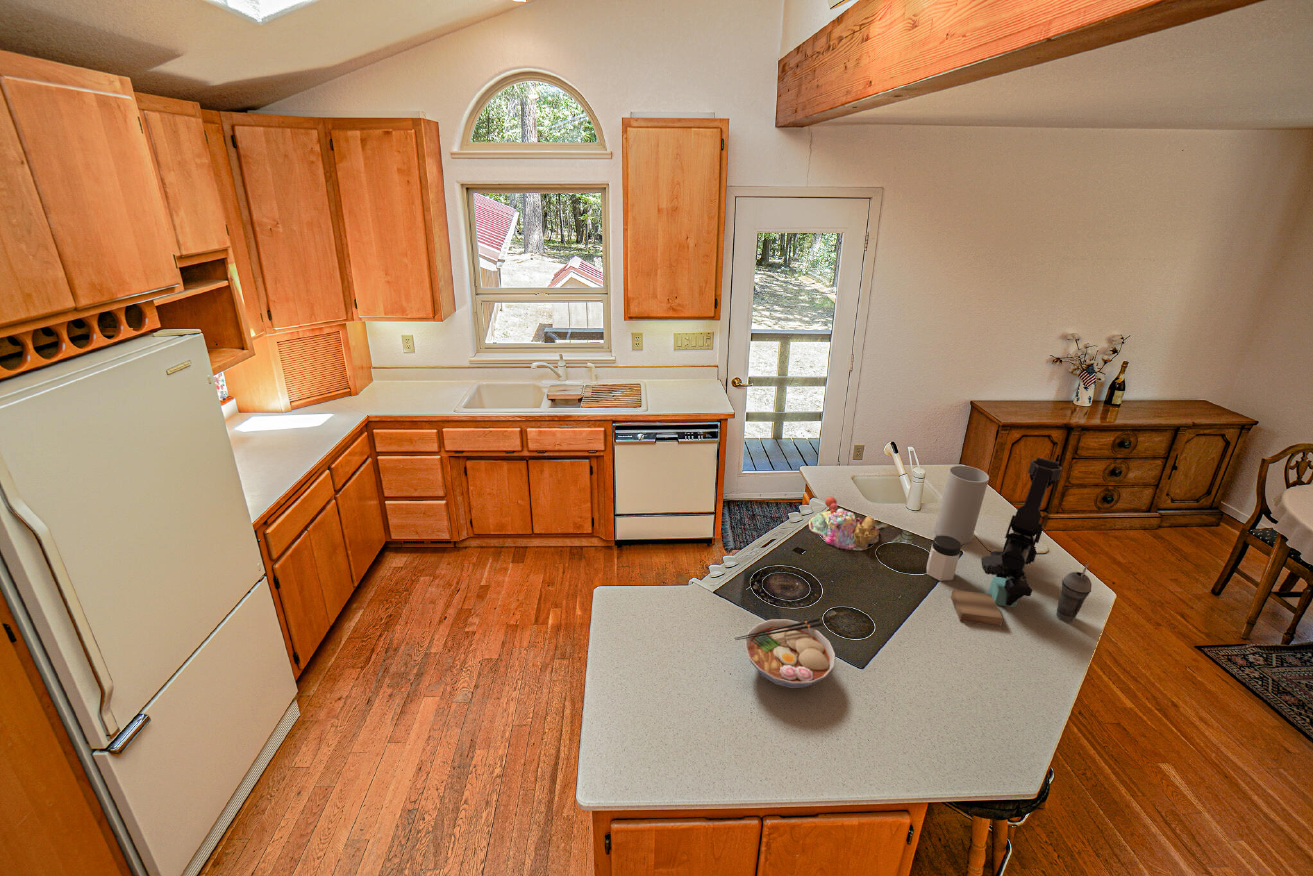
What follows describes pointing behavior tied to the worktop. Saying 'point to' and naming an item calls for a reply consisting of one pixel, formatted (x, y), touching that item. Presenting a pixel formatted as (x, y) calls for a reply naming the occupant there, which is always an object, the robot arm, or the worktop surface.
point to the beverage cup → (1073, 595)
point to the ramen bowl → (789, 652)
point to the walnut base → (976, 608)
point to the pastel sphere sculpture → (844, 528)
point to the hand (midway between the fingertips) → (1002, 595)
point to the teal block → (999, 591)
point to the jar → (943, 558)
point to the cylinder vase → (961, 503)
